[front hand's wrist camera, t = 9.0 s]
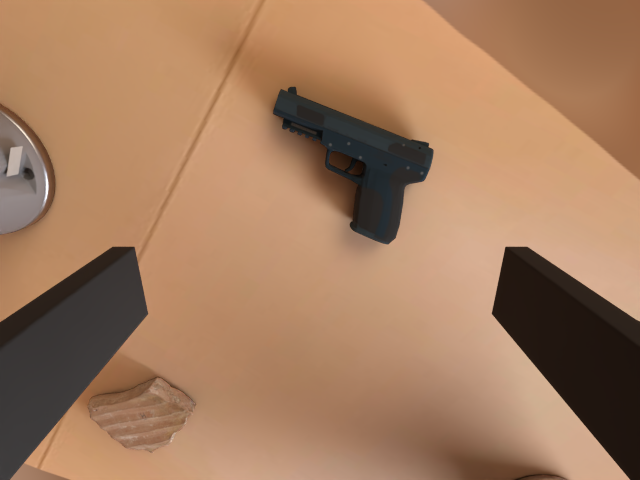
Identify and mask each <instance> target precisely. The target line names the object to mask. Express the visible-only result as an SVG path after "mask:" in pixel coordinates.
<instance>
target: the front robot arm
mask: <svg viewBox="0 0 640 480" xmlns="http://www.w3.org/2000/svg"><path fill="white" fill-rule="evenodd" d="M54 192H55V176H54V170H53V167H52V163H51V160H50V158H49V155H48V153H47V151H46V149H45V147H44V146H43V144H42V142H41V141H40V139H39V138H38V137H37V135H36V134H35V133H34V131H33V130H32V129H31V128H30V127H29V126H28V125H27V124H26V123H25V122H24V121H23V120H22V119H21V118H19V117H18V116H17V115H16V114H14V113H13V112H12V111H10V110H9V109H7V108H5V107H4V106H2V105H0V235H1V234H7V233H12V232H15V231H18V230H20V229H23V228H25V227H28V226H30V225H32V224H34V223H36V222H37V221H38V220H40V219H41V218H42V217H43V216H44V215H45V213H46V212H47V211H48V209H49V207H50V206H51V203H52V201H53V197H54ZM147 315H148V311H147V306H146V301H145V296H144V291H143V286H142V281H141V277H140V272H139V267H138V262H137V257H136V252H135V247H112V248H110V249H109V250H107V251H106V252H104V253H103V254H101V255H100V256H98V257H97V258H95V259H94V260H92V261H91V262H89V263H88V264H86V265H85V266H83V267H82V268H80V269H79V270H78V271H76V272H75V273H73V274H72V275H70V276H69V277H67V278H66V279H64V280H63V281H61V282H60V283H58V284H57V285H55V286H54V287H52V288H51V289H49V290H48V291H46V292H45V293H43V294H42V295H40V296H39V297H37V298H36V299H34V300H33V301H31V302H30V303H28V304H27V305H25V306H24V307H22V308H21V309H19V310H18V311H16V312H15V313H13V314H12V315H10V316H9V317H7V318H6V319H4V320H3V321H1V322H0V480H10V479H11V478H12V476H13V475H14V474H15V473H16V472H17V470H18V469H19V468H20V467H21V466H22V464H23V463H24V462H25V461H26V460H27V458H28V457H29V456H30V455H31V454H32V452H33V451H34V450H35V449H36V448H37V446H38V445H39V444H40V443H41V442H42V440H43V439H44V438H45V437H46V436H47V434H48V433H49V432H50V431H51V430H52V428H53V427H54V426H55V425H56V424H57V422H58V421H59V420H60V419H61V418H62V416H63V415H64V414H65V413H66V412H67V410H68V409H69V408H70V407H71V406H72V404H73V403H74V402H75V401H76V400H77V398H78V397H79V396H80V395H81V394H82V392H83V391H84V390H85V389H86V388H87V386H88V385H89V384H90V383H91V382H92V380H93V379H94V378H95V377H96V376H97V374H98V373H99V372H100V371H101V370H102V369H103V367H104V366H105V365H106V364H107V363H108V361H109V360H110V359H111V358H112V357H113V355H114V354H115V353H116V352H117V351H118V349H119V348H120V347H121V346H122V345H123V343H124V342H125V341H126V340H127V339H128V337H129V336H130V335H131V334H132V333H133V331H134V330H135V329H136V328H137V327H138V325H139V324H140V323H141V322H142V321H143V319H144V318H145V317H146V316H147ZM492 315H493V316H494V317H495V318H496V319H497V321H498V322H499V323H500V324H501V325H502V327H503V328H504V329H505V330H506V331H507V333H508V334H509V335H510V336H511V337H512V339H513V340H514V341H515V342H516V343H517V345H518V346H519V347H520V348H521V349H522V351H523V352H524V353H525V354H526V355H527V357H528V358H529V359H530V360H531V361H532V363H533V364H534V365H535V366H536V367H537V369H538V370H539V371H540V372H541V373H542V374H543V376H544V377H545V378H546V379H547V380H548V382H549V383H550V384H551V385H552V386H553V388H554V389H555V390H556V391H557V392H558V394H559V395H560V396H561V397H562V398H563V400H564V401H565V402H566V403H567V404H568V406H569V407H570V408H571V409H572V410H573V412H574V413H575V414H576V415H577V416H578V418H579V419H580V420H581V421H582V422H583V424H584V425H585V426H586V427H587V428H588V430H589V431H590V432H591V433H592V434H593V436H594V437H595V438H596V439H597V440H598V442H599V443H600V444H601V445H602V446H603V448H604V449H605V450H606V451H607V452H608V454H609V455H610V456H611V457H612V458H613V460H614V461H615V462H616V463H617V464H618V466H619V467H620V468H621V469H622V470H623V472H624V473H625V474H626V475H627V476H628V478H629V479H630V480H640V321H638V320H636V319H634V318H633V317H631V316H630V315H628V314H627V313H625V312H624V311H622V310H621V309H619V308H618V307H616V306H615V305H613V304H612V303H610V302H609V301H607V300H606V299H604V298H603V297H601V296H600V295H598V294H597V293H595V292H594V291H592V290H591V289H589V288H588V287H586V286H585V285H583V284H582V283H580V282H579V281H577V280H576V279H574V278H573V277H571V276H570V275H568V274H567V273H565V272H564V271H562V270H561V269H560V268H558V267H557V266H555V265H554V264H552V263H551V262H549V261H548V260H546V259H545V258H543V257H542V256H540V255H539V254H537V253H536V252H534V251H533V250H531V249H530V248H528V247H505V252H504V257H503V262H502V267H501V272H500V277H499V281H498V286H497V291H496V296H495V301H494V306H493V311H492Z"/></svg>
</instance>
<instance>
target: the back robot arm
mask: <svg viewBox="0 0 640 480" xmlns="http://www.w3.org/2000/svg"><path fill="white" fill-rule="evenodd" d="M518 480H565V479H563V478H560V477H556V476H551V475H535V476H529V477H525V478H521V479H518Z"/></svg>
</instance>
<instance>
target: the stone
mask: <svg viewBox="0 0 640 480" xmlns="http://www.w3.org/2000/svg"><path fill="white" fill-rule="evenodd" d="M195 405H196V404H195V403H194V402H193V401H192V400H191V399H190V398H189V397H188V396H186V395H185V394H184V393H183V392H181V391H179V390H178V389H175V388H172V387H171V386H170V385H169V384H168V383H167V382H165V381H164V380H163V379H161V378H155V379H153V380H150V381H148V382H146V383H143V384H139V385H138V386H136V387H135V388H134V389H130V390H128V391H125V392H121V393H113V394H104V395H97V396H94V397H92V398H91V399H90V400H89V404H88V406H87V407H88V409H89V412H90V418H91V419H92V420H94V421H95V422H96V423H97V424H98V425H99V426H100V428H101V429H103V430H105V431H106V432H107V433H108V434H109V435H110V436H111V437H112V438H113V439H115V440H117V441H118V442H120V443H121V444H122V445H123V446H124V447H125V448H127V449H133V450H147V451H149V452H151V453H153V451H154V450H155V449H158V448H160V447H163V446H167V445H169V444H170V443H171V441H172V440H173V438H174V435H175V434H176V432H177V431H179V430H181V429H182V428H183V427H184V425H185V423H186V420H187V418H188V417H189V416H190V415H192V413H193V410H194V408H195Z"/></svg>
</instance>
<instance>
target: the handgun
mask: <svg viewBox="0 0 640 480" xmlns="http://www.w3.org/2000/svg"><path fill="white" fill-rule="evenodd" d="M273 114H275V115H277V116H280V117H282V118H284V119H283V125H282V128H283V129H287V128H290V132H295V130H296V131H298V133H297V134H298V135H302V133H303V134H306V135H305V137H306V138H309V136H311V137H313V139H312V140H314V141H316V140H317V139H319V140H321V142H320V143H321V144H322V145H324V146H325V147H326V148H327V154H326V160H325V165H326V168H327V169H329V170H331V171H333V172H335V173H337V174H339V175H341V176H344V177H346V178H348V179H350V180H352V181H353V182H355V183H357V184H358V187H357V190H356V195H355V204H354V213H353V221H352V222H351V223H350V227H351V229H352V230H353V231H355V232H357V233H359V234H362V235H364V236H366V237H368V238H371V239H373V240H375V241H378V242H381V243H384V244H389V243H390V242H391V241H393V240H394V239H395V238H396V235H397V232H398V228H399V225H400V219H401V212H402V206H403V197H404V189H405V186H406V185H408V184H412V183H417V182H422V181H424V180H425V178H426V176H427V174H428V172H429V169H430V166H431V163H432V159H433V149H431V148H429V147H428V146H429V143H426V142H422V141H417V140H409V139H406V138H404V137H401V136H399V135H396V134H394V133H391V132H389V131H386V130H384V129H381V128H379V127H376V126H374V125H371V124H369V123H366V122H364V121H361V120H359V119H356V118H354V117H351V116H349V115H346V114H344V113H341V112H339V111H336V110H333V109H331V108H328V107H326V106H323V105H321V104H318V103H316V102H313V101H311V100H308V99H306V98H303V97H301V96H298V95H297V92H296V87H290V88H288V92H287V91H284V90H282V89H281V90H280V92H279V95H278V98H277V101H276V104H275V108H274V111H273ZM332 151H338V152H341V153H343V154H346V155H348V156H351V157H353V159H352V161H351V164H350V166H349V167H348V168H347V169H345V171H346V172H345V171H343V170H341V169H339V168H337V167H335V166H332V165H330V164H329V156H330V153H331V152H332ZM356 161H361V162H364V163H363V170H362V173H361V174H360V175H352V174H350V173H347V172H349V171H350V170H351V169H352V168H353V167H354V165H355V163H356Z"/></svg>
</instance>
